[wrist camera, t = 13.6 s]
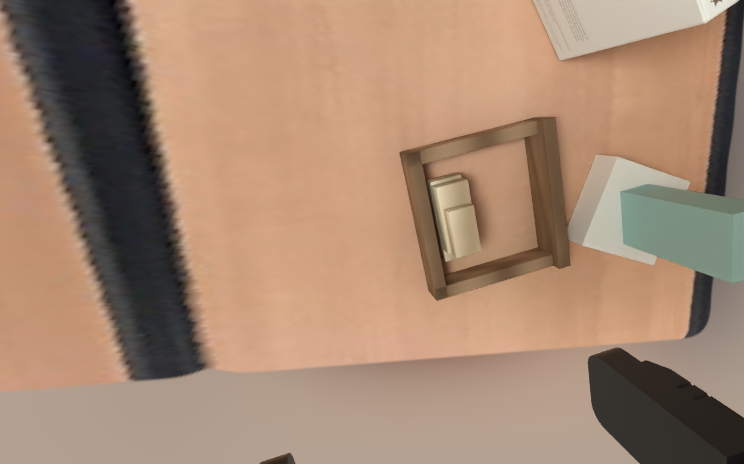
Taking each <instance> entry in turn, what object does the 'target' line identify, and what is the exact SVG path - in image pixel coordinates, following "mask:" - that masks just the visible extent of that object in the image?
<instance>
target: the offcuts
mask: <svg viewBox="0 0 744 464" xmlns="http://www.w3.org/2000/svg"><path fill="white" fill-rule="evenodd" d="M425 181H426V186H427V191H428V196H429V201H430V206H431V211H432V216H433V221H434V226H435V231H436V237H437V242H438V247H439V252H440V257H441V258H442V259H443V260H444V261H445V262H447V261H451V260H454V259H457V258H461V257H464V256H468V255H471V254H474V253H476V252H480V251H481V246H480V240H479V234H478V228H477V222H476V216H475V210H474V205H472V202H471V196H470V190H469V184H468V179H464V178H461V174H458V173H452V174H448V175H444V176H440V177H437V178H433V179H429V180H425Z"/></svg>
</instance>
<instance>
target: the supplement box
mask: <svg viewBox="0 0 744 464" xmlns="http://www.w3.org/2000/svg"><path fill="white" fill-rule="evenodd" d="M737 1H739V0H533V2H534V4H535V7H536V9H537V11H538V13H539V16H540V18H541V20H542V22H543V25H544V27H545V29H546V31H547V34H548V36H549V38H550V40H551V43H552V45H553V47H554V49H555V52H556V54H557V56H558V58H559V60H560V61H562V60H566V59H570V58H574V57H578V56H582V55H586V54H589V53H593V52H597V51H601V50H605V49H609V48H612V47H616V46H620V45H624V44H628V43H631V42H635V41H639V40H643V39H647V38H651V37H655V36H658V35H662V34H666V33H670V32H674V31H678V30H682V29H686V28H690V27H694V26H698V25H702V24H705V23H707V22H709V21H710V20H712V19H713V18H714V17H716V16H717V15H719V14H720V13H722V12H723V11H725V10H726V9H727V8H729V7H730V6H732V5H733V4H734V3H736V2H737Z"/></svg>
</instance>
